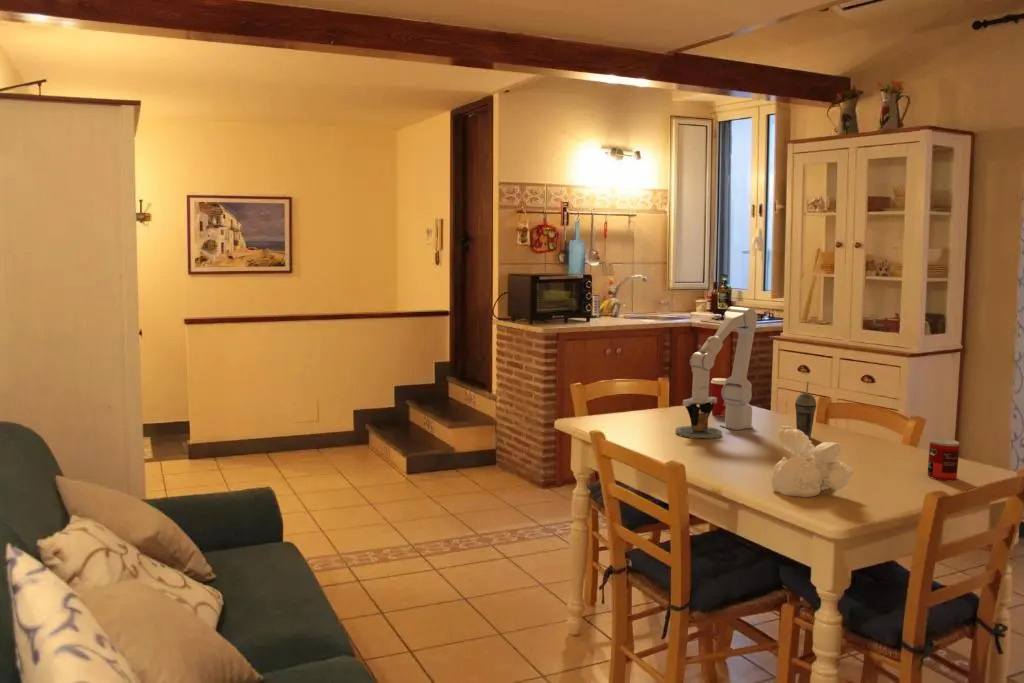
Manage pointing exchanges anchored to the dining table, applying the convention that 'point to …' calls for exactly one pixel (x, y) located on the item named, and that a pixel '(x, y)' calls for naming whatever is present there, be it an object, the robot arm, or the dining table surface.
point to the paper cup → (718, 396)
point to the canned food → (943, 458)
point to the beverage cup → (805, 412)
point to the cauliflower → (808, 466)
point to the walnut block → (701, 422)
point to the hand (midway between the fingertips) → (698, 424)
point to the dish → (698, 432)
